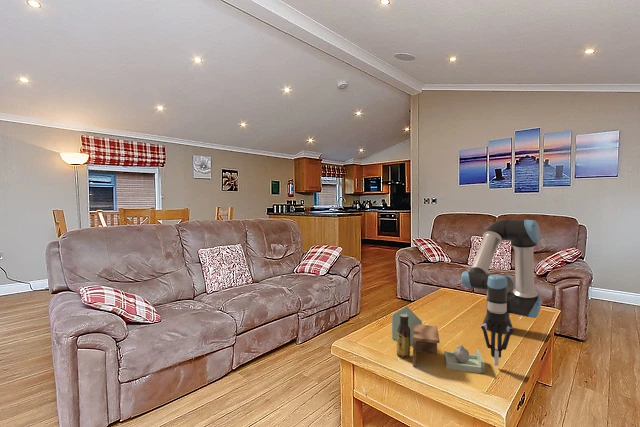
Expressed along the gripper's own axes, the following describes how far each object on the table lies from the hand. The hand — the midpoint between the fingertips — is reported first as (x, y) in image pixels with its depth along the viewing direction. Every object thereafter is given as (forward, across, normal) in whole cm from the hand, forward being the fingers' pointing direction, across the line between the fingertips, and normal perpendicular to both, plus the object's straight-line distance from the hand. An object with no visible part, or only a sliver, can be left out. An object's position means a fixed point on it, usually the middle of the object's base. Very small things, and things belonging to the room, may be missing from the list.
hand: (495, 364), depth 145 cm
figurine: (+1, +14, 0) cm, 14 cm away
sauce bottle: (+2, +40, -1) cm, 40 cm away
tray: (+2, +13, 0) cm, 13 cm away
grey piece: (+2, +37, -19) cm, 42 cm away
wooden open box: (+2, +30, 0) cm, 30 cm away
